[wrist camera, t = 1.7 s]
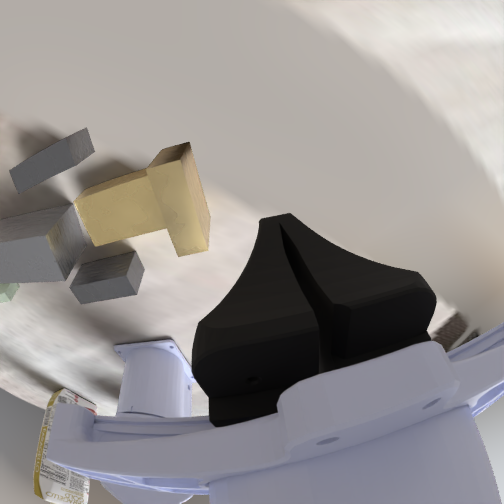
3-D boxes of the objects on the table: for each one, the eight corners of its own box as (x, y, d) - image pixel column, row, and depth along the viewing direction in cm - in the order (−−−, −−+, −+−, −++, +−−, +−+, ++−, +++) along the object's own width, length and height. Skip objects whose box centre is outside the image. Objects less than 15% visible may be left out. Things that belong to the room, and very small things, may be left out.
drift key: (210, 216, 21) (208, 250, 17) (109, 241, 21) (91, 276, 18) (189, 141, 18) (180, 159, 14) (80, 177, 18) (52, 203, 14)
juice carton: (48, 390, 37) (28, 497, 18) (62, 383, 35) (40, 505, 16) (86, 411, 42) (74, 513, 23) (104, 406, 40) (92, 521, 21)
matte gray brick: (87, 243, 21) (65, 280, 17) (15, 252, 21) (-8, 283, 17) (73, 202, 19) (45, 235, 15) (1, 218, 18) (-27, 247, 14)
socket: (144, 269, 23) (136, 294, 21) (91, 280, 23) (80, 304, 21) (86, 127, 16) (65, 137, 13) (31, 156, 16) (9, 170, 13)
